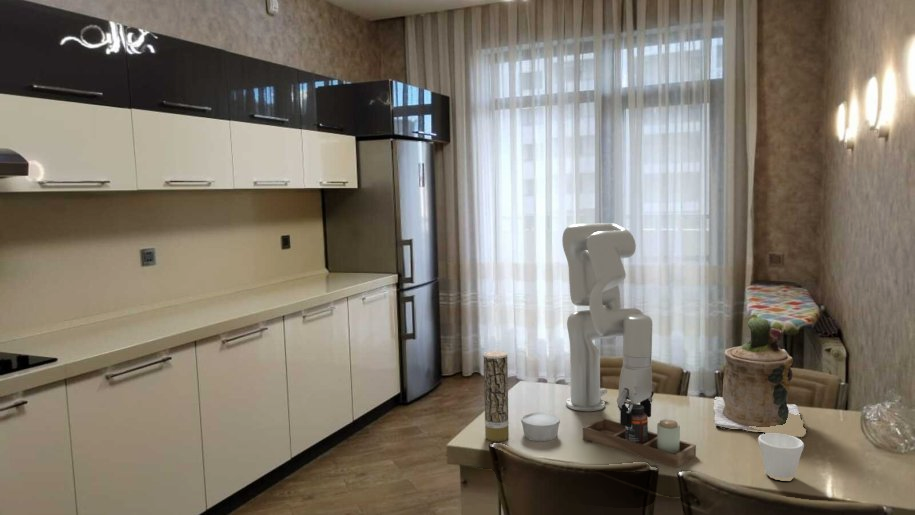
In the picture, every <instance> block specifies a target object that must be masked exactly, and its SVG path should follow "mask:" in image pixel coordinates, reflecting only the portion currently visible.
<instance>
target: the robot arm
mask: <svg viewBox="0 0 915 515" xmlns="http://www.w3.org/2000/svg"><path fill="white" fill-rule="evenodd" d="M561 240H562V248H563V253H564V255H565V258H566V261H567V265H568V266H567V267H568V280H569V281H568V282H569V295H570V301H571V303H572V304H573V305H574V306H577V307H589V308H588V309H586V310H585V309H584V310H577V311H574V312H572V313H570V315H569V316H568V317H567V320H566V326H567V332H568V338H569V355H570V360H569V361H570V363H569V364H570V366H569V368H570V372H569V373H570V397H568V398H567V399H566V401H565V405H566V407H567V408H569V409H571V410H574V411H578V412H597V411H600V410H603V409H604V408H605V406H606V402H605V401H604V400H603V399H602V396H604V395H607V393H608V390H607V388H601V354H600V351H599V348H598V346H596V345H595V344H594V342H593V341H594V340H603V339H613V338H614V339H615V338H616V337H622V366H621V370H620V375H619V383H618V397H617V398H616V402H617V408H618V411H619V412H620V414H619V415H620V416H619V423H620V424H621V425H624V426H627V427H631V426H632V413H630V412H631V409H632V407H633V405H635V404H639V405H642V406H643V407H644V413H645V414H646V415H647V417H648V418H651V417H652V403H653V396H654V395H655V387H656V384H655V383H653V375H652V374H653V372H652V362H653V361H652V360H653V358H652V356H653V352H652V351H653V319H652V318H651V317H650V316H649V315H645V314H644V313H643V312H642V311H641V309H639V308H637V307H636V308H635V307H633V308H632V307H631V308H621V293H620V287H619V285H621V283H622V282H624V281H625V279H626V276H627V275H626V274H627V273H626V270H625V267H624V264H623V262H622V259H626V258H627V259H628V258H631V257H632V256H634V254H635V253H636V247H637V245H636V241H635V238H634V236H633V234H632V233H631V232H630V231H629V230H628V229H627V228H624V227H623V226H620V225H618V224H616V223H613V222H599V223H595V222H594V223H590V222H589V223H576V224H571V225H569V226H567V227H566V228H565V229H564V231H563V234H562V239H561ZM626 404H627V405H628V406H627V405H626Z"/></svg>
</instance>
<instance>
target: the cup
mask: <svg viewBox="0 0 915 515" xmlns="http://www.w3.org/2000/svg"><path fill="white" fill-rule="evenodd" d="M757 442H758V445H759V447H760V451H761V456H762V460H763V461H762V462H763V466H764V470H765V474H766V473H767V474H769V475H772V476H774V477H780V478H789V477H793V476H794V477H795V475H796V472H797V469H798V466H799V463H800V459H801V456H802V453H803V451H804V448H805V443H804V442H803V441H802V440H801V439H800V438H798V437H794V436H791V435H787V434H781V433H765V434H764V433H761V434H760V435H759V436H758V438H757Z"/></svg>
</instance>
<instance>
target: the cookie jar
mask: <svg viewBox="0 0 915 515" xmlns="http://www.w3.org/2000/svg"><path fill="white" fill-rule="evenodd" d="M750 315H751V316H750V318H749V320H748V322H747V323H746V324H747V326H748V328H749V329H750V332H751V340H750V341H748V342H746V343H745V342H744V344H742V345H740V346H733V347H730V348H726V349H725V350H724V354H723V355H724V358H725V360H726V361H725V372H724V376H723V381H722V397H721V396H715V397H714V399H716V400H714V399H713V408H712V409H713V411H714V419H713V421H714V424H715V427H716V426H718V427H720V428H722V427H727V428H738V429H747V430H757V429H754V428H752V427H749V426H756V427H770V426H776V425H783V424H785V423H786V420H787V418H788V414H789V413H791V414H794V415H797V414H798V415H801V413H800V412H799V407H798V405H797V404H794V403H793V404H792V403H790V404H789V403H788V400H789V398H788V395H789V392H790V389H791V383H790V382H791V381H792V379H793V372H792V371H793V370H792V369H791V367H792V365H793V362H794V359H793V357H792V356H790V354H789V353H788V351H787V350H786V349H784V348H782V349H781V348H780V347H779V345H778V343H780V342H781V341H782V336H783V332H782V330H781V329H779V328H775V327H771V324H770V322H769V321H768V320H767V319H765V318H761V317H759V316H758V315H756V314H754V313H753V314H750ZM799 413H800V414H799ZM801 421H804V420H803V419H802V420H801ZM757 431H761V430H757Z"/></svg>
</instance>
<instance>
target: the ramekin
mask: <svg viewBox="0 0 915 515" xmlns="http://www.w3.org/2000/svg"><path fill="white" fill-rule="evenodd" d="M520 422H521V424H522V430H523V435H524V436H525V438H527V439H528V440H530V441H533V442H550V441H553V440H554V439H556V437H557V436H558V433H559V427H560V424H561V420H560V417H559V416H558V415H555V414H554V413H550V412H531V413H530V412H529V413H527V414H525V415H522V416H521V418H520Z"/></svg>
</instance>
